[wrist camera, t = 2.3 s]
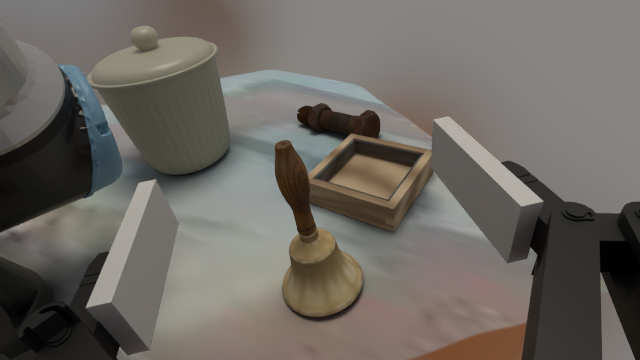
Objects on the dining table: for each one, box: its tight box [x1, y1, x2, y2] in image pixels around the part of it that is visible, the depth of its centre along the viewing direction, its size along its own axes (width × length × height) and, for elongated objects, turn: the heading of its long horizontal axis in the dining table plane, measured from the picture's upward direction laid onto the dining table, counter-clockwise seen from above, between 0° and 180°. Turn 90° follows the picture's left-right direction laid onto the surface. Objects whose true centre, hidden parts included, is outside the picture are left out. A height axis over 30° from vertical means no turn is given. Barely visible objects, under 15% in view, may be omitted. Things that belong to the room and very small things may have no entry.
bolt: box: [297, 103, 380, 139], centre depth 59 cm, size 6×5×15 cm
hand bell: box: [275, 140, 363, 317], centre depth 32 cm, size 8×8×16 cm
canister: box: [87, 26, 230, 175], centre depth 54 cm, size 18×18×21 cm
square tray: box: [308, 134, 433, 232], centre depth 47 cm, size 12×12×4 cm
